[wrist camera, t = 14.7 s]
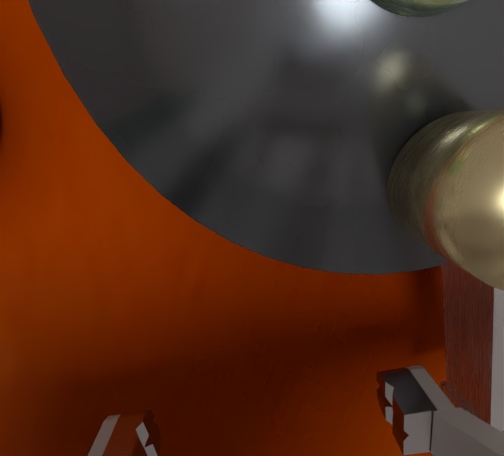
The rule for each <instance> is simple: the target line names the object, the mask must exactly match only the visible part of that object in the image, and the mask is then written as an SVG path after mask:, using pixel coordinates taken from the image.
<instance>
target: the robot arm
mask: <svg viewBox="0 0 504 456" xmlns="http://www.w3.org/2000/svg"><path fill="white" fill-rule="evenodd" d="M376 380H377V382H378V384H379V387H378V389H377V398H378V402H379V406H380V408H381V411H382V413H383V415H384V417H385V419H386V421H388V422H389V423H391V424H392V427H393V435H394V437H395V439H396V441H397V443H398V445H399V447H400V449H401V451H402V453H403V455H409V454H417V453H425V452H431V454H432V455H433V456H504V433H503V432H501V431H499V430H498V429H496V428H494V427H493V426H491V425H489V424H488V423H486V422H484V421H483V420H481V419H479V418H477V417H476V416H474V415H472V414H471V413H469V412H467V411H466V410H464V409H462V408H461V407H457V408H455V407H454V405H453V404H452V403H451V402H450V400H449V399H448V398H447V396H446V395H445V394H444V393H443V391H442V390H441V389H440V387H439V386H438V385H437V384H436V382H435V381H434V380H433V378H432V377H431V376H430V375H429V373H428V372H427V371H426V369H425V368H424V367H423V366H421V365H417V366H411V367H406V368H405V367H403V368H398V369H392V370H387V371H381V372H377V375H376ZM153 419H154V415H153V413H152V411H151V410H147V411H139V412H132V413H124V414H118V415H111V416H108V417H107V418H106V419H105V420H104V422H103V424H102V426H101V428H100V430H99V432H98V434H97V436H96V439H95V441H94V443H93V445H92V447H91V449H90V451H89V453H88V456H158V454H159V450H160V442H161V435H160V430H159V427H158V425H157V424H155V423H153Z"/></svg>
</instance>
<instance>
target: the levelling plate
mask: <svg viewBox="0 0 504 456" xmlns="http://www.w3.org/2000/svg"><path fill="white" fill-rule="evenodd" d="M28 1H29V4H30V6H31V9H32V11H33V14H34V16H35V19H36V21H37V23H38V25H39V27H40V29H41V31H42V33H43V34H44V36H45V38H46V40H47V42H48V44H49V46H50V48H51V50H52V52H53V54H54V56H55V58H56V60H57V62H58V64H59V66H60V68H61V70H62V72H63V74H64V75H65V77H66V78H67V80H68V81H69V83H70V85H71V86H72V88H73V89H74V91H75V92H76V94H77V95H78V97H79V98H80V100H81V101H82V103H83V105H84V106H85V108H86V109H87V111H88V112H89V114H90V115H91V117H92V118H93V120H94V121H95V123H96V124H97V125H98V126H99V128H100V129H101V130H102V131H103V133H104V134H105V135H106V136H107V137H108V139H109V140H110V141H111V142H112V144H113V145H114V146H115V147H116V148H117V150H118V151H119V152H120V153H121V155H122V156H123V157H124V158H125V159H126V161H127V162H128V163H129V164H130V165H131V166H132V167H133V168H134V169H135V170H136V171H137V172H138V173H139V174H141V175H142V176H143V177H144V178H145V179H146V180H147V181H148V182H149V183H150V184H151V185H152V186H153V187H154V188H155V189H156V190H157V191H158V192H159V193H160V194H161V195H162V196H164V197H165V198H166V199H168V200H169V201H170V202H172V203H173V204H174V205H176V206H177V207H178V208H179V209H181V210H182V211H183V212H185V213H186V214H187V215H189V216H190V217H191V218H193V219H194V220H195V221H197V222H198V223H200V224H202V225H204V226H205V227H207V228H209V229H210V230H212V231H214V232H215V233H217V234H219V235H221V236H222V237H224V238H226V239H227V240H229V241H231V242H233V243H235V244H238V245H240V246H242V247H245V248H247V249H249V250H252V251H254V252H256V253H259V254H261V255H263V256H266V257H269V258H272V259H276V260H279V261H283V262H286V263H289V264H293V265H296V266H300V267H304V268H310V269H317V270H323V271H329V272H336V273H352V274H386V273H398V272H410V271H417V270H422V269H427V268H432V267H437V266H441V255H440V254H438V253H436V252H435V251H433V250H432V249H430V248H429V247H427V246H425V245H424V244H422V243H421V242H419V241H417V240H416V239H414V238H413V237H411V236H409V235H408V234H407V233H405V232H404V231H403V230H402V229H401V228H400V227H399V226H398V225H397V224H396V222H395V221H394V219H393V217H392V215H391V213H390V210H389V206H388V201H387V185H388V179H389V175H390V172H391V169H392V166H393V164H394V162H395V160H396V157H397V156H398V154H399V153H400V151H401V149H402V148H403V147H404V145H405V144H406V143H407V142H408V140H409V139H410V138H411V137H412V136H413V135H414V134H415V133H417V132H418V131H419V130H420V129H421V128H423V127H424V126H426V125H427V124H429V123H430V122H432V121H434V120H436V119H438V118H440V117H443V116H445V115H448V114H452V113H457V112H465V111H477V110H490V109H503V108H504V0H28Z"/></svg>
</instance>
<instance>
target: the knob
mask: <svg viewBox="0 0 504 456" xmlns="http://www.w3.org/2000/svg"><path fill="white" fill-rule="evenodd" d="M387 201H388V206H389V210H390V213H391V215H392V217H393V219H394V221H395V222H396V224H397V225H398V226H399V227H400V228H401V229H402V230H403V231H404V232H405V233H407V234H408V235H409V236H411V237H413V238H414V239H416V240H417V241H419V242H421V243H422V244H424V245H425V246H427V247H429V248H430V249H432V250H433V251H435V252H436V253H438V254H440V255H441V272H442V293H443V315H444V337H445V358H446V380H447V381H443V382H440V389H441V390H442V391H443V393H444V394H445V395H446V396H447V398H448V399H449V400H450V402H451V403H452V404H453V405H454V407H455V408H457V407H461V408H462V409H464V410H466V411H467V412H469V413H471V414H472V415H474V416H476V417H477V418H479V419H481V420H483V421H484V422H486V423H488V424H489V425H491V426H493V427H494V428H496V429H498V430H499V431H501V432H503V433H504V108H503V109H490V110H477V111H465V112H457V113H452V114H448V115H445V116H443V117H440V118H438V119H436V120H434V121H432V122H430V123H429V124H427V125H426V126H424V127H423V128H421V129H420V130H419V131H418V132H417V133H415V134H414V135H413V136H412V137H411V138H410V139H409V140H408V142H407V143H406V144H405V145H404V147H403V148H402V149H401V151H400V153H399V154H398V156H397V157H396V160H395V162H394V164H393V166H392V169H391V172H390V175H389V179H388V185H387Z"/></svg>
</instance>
